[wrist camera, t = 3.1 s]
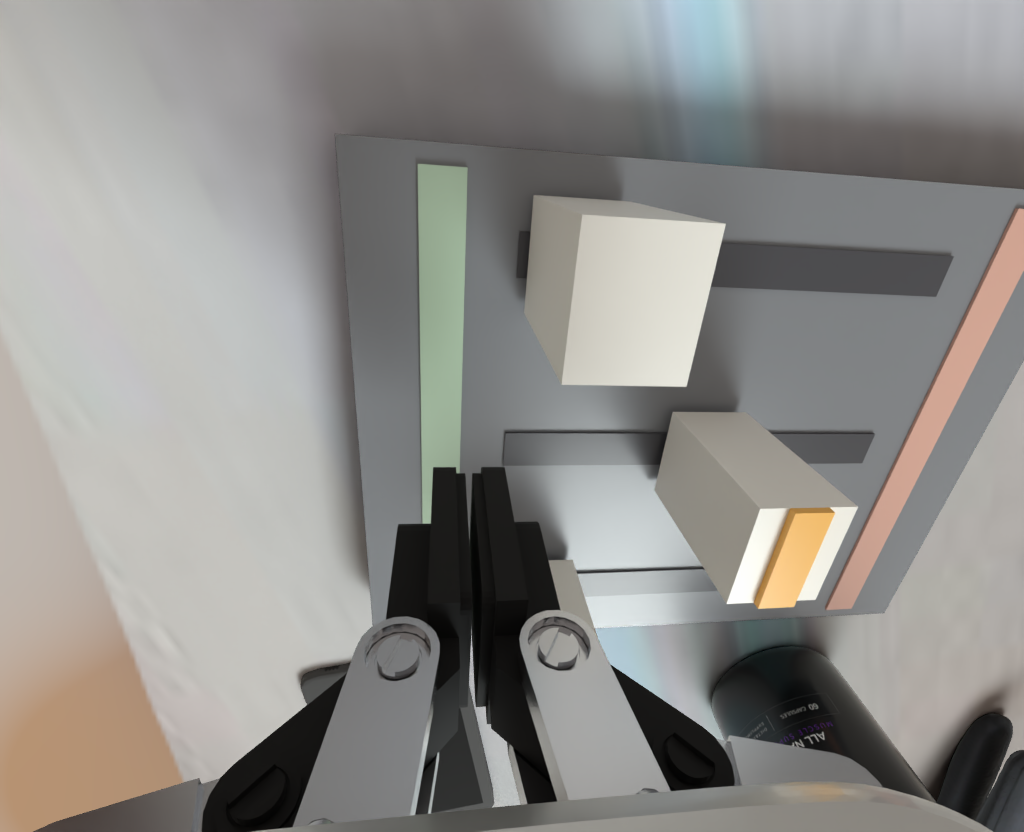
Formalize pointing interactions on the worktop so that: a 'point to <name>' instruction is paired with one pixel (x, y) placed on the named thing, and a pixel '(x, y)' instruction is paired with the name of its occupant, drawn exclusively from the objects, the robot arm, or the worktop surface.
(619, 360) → the block
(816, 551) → the handle
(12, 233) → the worktop surface
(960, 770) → the can opener
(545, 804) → the robot arm
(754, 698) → the supplement bottle
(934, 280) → the breaker board
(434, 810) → the cell phone
